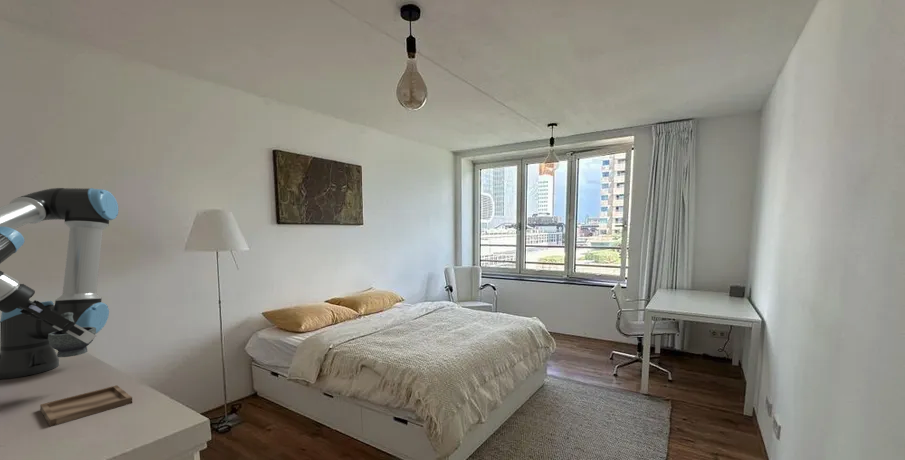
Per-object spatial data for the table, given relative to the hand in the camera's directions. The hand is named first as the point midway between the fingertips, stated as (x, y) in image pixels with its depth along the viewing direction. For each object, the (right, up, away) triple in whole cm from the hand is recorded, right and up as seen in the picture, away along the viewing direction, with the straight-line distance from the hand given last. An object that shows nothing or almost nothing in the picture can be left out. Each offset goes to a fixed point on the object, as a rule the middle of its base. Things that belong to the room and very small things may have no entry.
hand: (84, 337), depth 110 cm
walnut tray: (+15, -14, -14) cm, 25 cm away
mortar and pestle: (-1, -4, -2) cm, 5 cm away
